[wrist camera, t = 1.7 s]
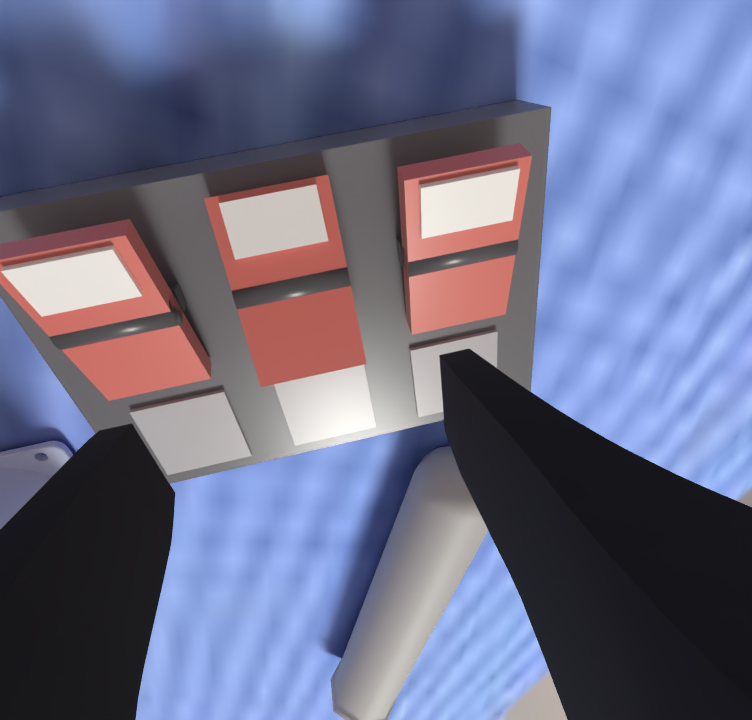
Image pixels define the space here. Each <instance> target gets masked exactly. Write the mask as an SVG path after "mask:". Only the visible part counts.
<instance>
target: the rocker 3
mask: <svg viewBox="0 0 752 720" xmlns="http://www.w3.org/2000/svg"><path fill="white" fill-rule="evenodd" d="M531 160H532V155H531V154H530V153H529V152H528V151H527V150H526V149H525V148H524V146H523V145H522V144H521V143H519V144H513V145H508V146H503V147H498V148H493V149H488V150H482V151H477V152H472V153H467V154H462V155H457V156H452V157H446V158H441V159H436V160H431V161H426V162H421V163H415V164H410V165H405V166H400V167H397V172H398V189H399V205H400V222H401V238H402V260H403V272H404V288H405V305H406V320H407V323H408V326H409V329H410V331H411V334H412V335H413V334H418V333H423V332H427V331H432V330H436V329H441V328H445V327H450V326H455V325H459V324H464V323H468V322H473V321H478V320H482V319H487V318H491V317H496V316H500V315H505V314H506V309H507V303H508V297H509V291H510V285H511V279H512V273H513V267H514V261H515V255H516V254H517V251H518V237H519V232H520V226H521V220H522V214H523V208H524V202H525V196H526V190H527V184H528V178H529V172H530V166H531Z"/></svg>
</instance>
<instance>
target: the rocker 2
mask: <svg viewBox="0 0 752 720" xmlns="http://www.w3.org/2000/svg"><path fill="white" fill-rule="evenodd" d="M204 201H205V205H206V208H207V211H208V214H209V218H210V221H211V224H212V228H213V231H214V234H215V238H216V241H217V244H218V248H219V251H220V254H221V257H222V261H223V264H224V267H225V271H226V274H227V277H228V281H229V284H230V287H231V290H232V295H233V299H234V303H235V306H236V308H237V310H238V314H239V317H240V320H241V324H242V327H243V330H244V333H245V337H246V340H247V343H248V347H249V350H250V353H251V357H252V360H253V363H254V367H255V370H256V373H257V376H258V380H259V383H260V386H261V387H265V386H269V385H274V384H278V383H283V382H287V381H292V380H296V379H301V378H305V377H310V376H315V375H319V374H324V373H328V372H333V371H337V370H342V369H346V368H351V367H355V366H360V365H364V364H367V362H366V358H365V353H364V348H363V343H362V338H361V333H360V328H359V323H358V318H357V313H356V308H355V303H354V299H353V294H352V289H351V283H350V278H349V273H348V269H347V264H346V259H345V254H344V249H343V245H342V240H341V235H340V230H339V225H338V220H337V215H336V210H335V205H334V200H333V195H332V190H331V186H330V181H329V176H328V175H323V176H318V177H313V178H308V179H302V180H297V181H292V182H287V183H282V184H276V185H271V186H266V187H261V188H256V189H251V190H245V191H240V192H235V193H230V194H225V195H219V196H214V197H209V198H204Z"/></svg>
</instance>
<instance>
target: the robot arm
mask: <svg viewBox="0 0 752 720" xmlns="http://www.w3.org/2000/svg"><path fill="white" fill-rule="evenodd" d="M439 359H440V372H441V386H442V399H443V413H444V426H445V432H446V435H447V438H448V441H449V444H450V447H451V449H452V452H453V455H454V458H455V460H456V463H457V466H458V469H459V471H460V474H461V476H462V478H463V480H464V482H465V484H466V486H467V488H468V490H469V492H470V494H471V496H472V498H473V501H474V503H475V505H476V507H477V509H478V511H479V513H480V515H481V517H482V519H483V521H484V523H485V525H486V527H487V529H488V531H489V533H490V535H491V537H492V539H493V541H494V543H495V545H496V547H497V549H498V551H499V553H500V555H501V557H502V559H503V561H504V563H505V565H506V567H507V569H508V571H509V573H510V575H511V577H512V579H513V581H514V584H515V586H516V588H517V590H518V592H519V595H520V597H521V599H522V602H523V604H524V607H525V609H526V612H527V614H528V617H529V620H530V622H531V625H532V627H533V630H534V632H535V635H536V637H537V640H538V643H539V645H540V648H541V650H542V653H543V655H544V658H545V661H546V663H547V666H548V669H549V671H550V674H551V677H552V679H553V682H554V685H555V687H556V690H557V693H558V695H559V698H560V700H561V703H562V706H563V708H564V711H565V713H566V716H567V719H568V720H752V507H749V506H747V505H745V504H742V503H740V502H738V501H735V500H733V499H731V498H728V497H726V496H724V495H721V494H719V493H717V492H714V491H712V490H709V489H707V488H705V487H703V486H700V485H698V484H696V483H694V482H692V481H689V480H687V479H685V478H683V477H681V476H678V475H676V474H674V473H672V472H670V471H668V470H666V469H664V468H662V467H660V466H658V465H656V464H654V463H652V462H650V461H648V460H646V459H644V458H642V457H640V456H638V455H636V454H634V453H632V452H630V451H628V450H626V449H624V448H622V447H621V446H619V445H617V444H615V443H613V442H611V441H609V440H608V439H606V438H604V437H602V436H601V435H599V434H597V433H596V432H594V431H592V430H590V429H589V428H587V427H585V426H584V425H582V424H580V423H578V422H577V421H575V420H573V419H572V418H570V417H568V416H567V415H565V414H564V413H562V412H560V411H559V410H557V409H556V408H554V407H553V406H551V405H550V404H548V403H547V402H545V401H544V400H542V399H540V398H539V397H537V396H536V395H534V394H533V393H531V392H530V391H528V390H527V389H526V388H524V387H523V386H521V385H520V384H518V383H517V382H516V381H514V380H513V379H511V378H510V377H508V376H507V375H506V374H504V373H503V372H501V371H500V370H499V369H497V368H496V367H495V366H493V365H492V364H490V363H489V362H488V361H486V360H485V359H483V358H482V357H481V356H479V355H478V354H476V353H475V352H474V351H472V350H471V349H465V350H460V351H456V352H451V353H447V354H442V355H439ZM41 453H44V454H46V455H44V454H41ZM174 502H175V492H174V490H173V489H172V487H171V486H170V484H169V482H168V481H167V479H166V478H165V476H164V474H163V473H162V471H161V469H160V468H159V466H158V465H157V463H156V461H155V460H154V458H153V457H152V455H151V453H150V452H149V450H148V448H147V447H146V445H145V444H144V442H143V440H142V439H141V437H140V436H139V434H138V432H137V431H136V429H135V428H134V426H133V424H132V423H131V424H127V425H122V426H118V427H113V428H109V429H104V430H100V431H98V432H97V433H96V434H95V435H94V436H93V437H91V438H90V439H89V440H88V441H87V442H86V443H85V444H84V445H83V446H82V447H81V448H80V449H79V450H78V451H77V452H76V453H75V454H74V455H73V454H72V452H71V451H70V450H69V448H68V447H67V446H66V445H65V444H64V443H62V442H59V441H48V442H44V443H39V444H35V445H30V446H26V447H21V448H17V449H12V450H8V451H3V452H0V720H135V718H136V710H137V702H138V696H139V690H140V685H141V679H142V674H143V668H144V664H145V659H146V655H147V650H148V646H149V642H150V637H151V633H152V628H153V624H154V619H155V615H156V611H157V606H158V602H159V597H160V593H161V588H162V584H163V579H164V575H165V570H166V565H167V561H168V556H169V551H170V546H171V539H172V529H173V518H174Z"/></svg>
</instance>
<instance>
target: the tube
mask: <svg viewBox="0 0 752 720" xmlns="http://www.w3.org/2000/svg"><path fill="white" fill-rule="evenodd" d="M487 532H488V529H487V527H486V525H485V523H484V521H483V519H482V517H481V515H480V513H479V511H478V509H477V507H476V505H475V503H474V501H473V498H472V496H471V494H470V492H469V490H468V488H467V486H466V484H465V482H464V480H463V478H462V476H461V474H460V471H459V469H458V466H457V463H456V460H455V458H454V455H453V452H452V449H451V447H450V446H445V447H439V448H436V449H434V450H431V451H430V452H428V453H427V454H426V455H424V457H423V459H422V460H421V462H420V463H419V465H418V466H417V468H416V470H415V471H414V473H413V476H412V479H411V481H410V484H409V486H408V489H407V492H406V494H405V497H404V499H403V502H402V505H401V507H400V510H399V512H398V515H397V517H396V520H395V523H394V525H393V528H392V530H391V533H390V536H389V538H388V541H387V543H386V546H385V549H384V551H383V554H382V556H381V559H380V562H379V564H378V567H377V569H376V572H375V575H374V577H373V580H372V582H371V585H370V588H369V590H368V593H367V595H366V598H365V601H364V603H363V606H362V608H361V611H360V614H359V616H358V619H357V621H356V624H355V626H354V629H353V632H352V634H351V637H350V639H349V642H348V645H347V647H346V650H345V652H344V655H343V657H342V659H341V661H340V663H339V665H338V667H337V668H336V670H335V672H334V674H333V676H332V678H331V688H332V700H333V711H334V712H335V713H337V714H338V715H340V716H341V717H342V718H344V719H345V720H388V717H389V715H390V712H391V710H392V707H393V705H394V702H395V700H396V697H397V695H398V694H399V692H400V690H401V688H402V686H403V684H404V683H405V681H406V679H407V677H408V675H409V674H410V672H411V670H412V668H413V666H414V664H415V663H416V661H417V659H418V657H419V655H420V654H421V652H422V650H423V648H424V646H425V645H426V643H427V641H428V639H429V637H430V635H431V634H432V632H433V630H434V628H435V626H436V625H437V623H438V621H439V619H440V617H441V615H442V614H443V612H444V610H445V608H446V606H447V605H448V603H449V601H450V599H451V597H452V595H453V594H454V592H455V590H456V588H457V586H458V585H459V583H460V581H461V579H462V577H463V576H464V574H465V572H466V570H467V568H468V566H469V565H470V563H471V561H472V559H473V557H474V556H475V554H476V552H477V550H478V548H479V546H480V545H481V543H482V541H483V539H484V537H485V536H486V534H487Z"/></svg>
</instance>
